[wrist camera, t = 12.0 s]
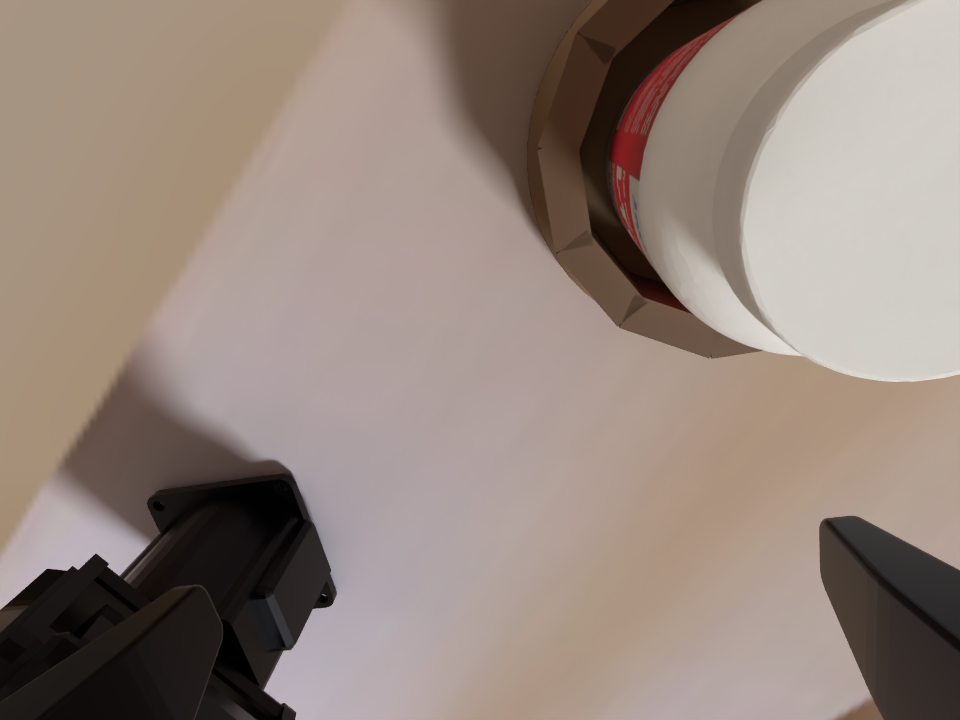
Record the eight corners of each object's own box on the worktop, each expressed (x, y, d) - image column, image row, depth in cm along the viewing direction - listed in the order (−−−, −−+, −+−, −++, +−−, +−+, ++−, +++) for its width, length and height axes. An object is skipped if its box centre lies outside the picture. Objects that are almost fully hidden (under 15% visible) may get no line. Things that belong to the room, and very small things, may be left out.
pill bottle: (560, 165, 18) (569, 218, 8) (724, -18, 16) (1045, -287, 5) (702, 304, 19) (882, 516, 9) (875, 149, 17) (1385, 186, 6)
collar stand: (559, 349, 21) (562, 397, 17) (496, -3, 17) (482, -38, 14) (902, 293, 19) (988, 334, 15) (915, -117, 15) (1032, -193, 12)
